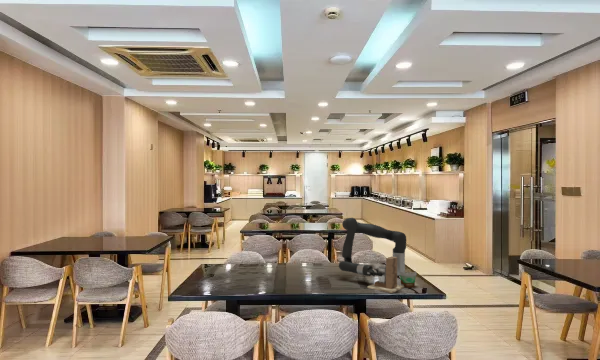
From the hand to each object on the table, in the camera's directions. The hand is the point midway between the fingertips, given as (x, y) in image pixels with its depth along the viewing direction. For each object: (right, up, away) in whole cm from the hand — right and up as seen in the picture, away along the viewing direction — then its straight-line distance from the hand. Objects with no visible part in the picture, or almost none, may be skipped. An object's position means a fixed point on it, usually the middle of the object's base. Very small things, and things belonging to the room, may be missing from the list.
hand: (385, 273), depth 257 cm
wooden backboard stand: (0, -10, 0) cm, 10 cm away
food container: (+17, -10, +2) cm, 20 cm away
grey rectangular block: (-1, -8, +1) cm, 9 cm away
